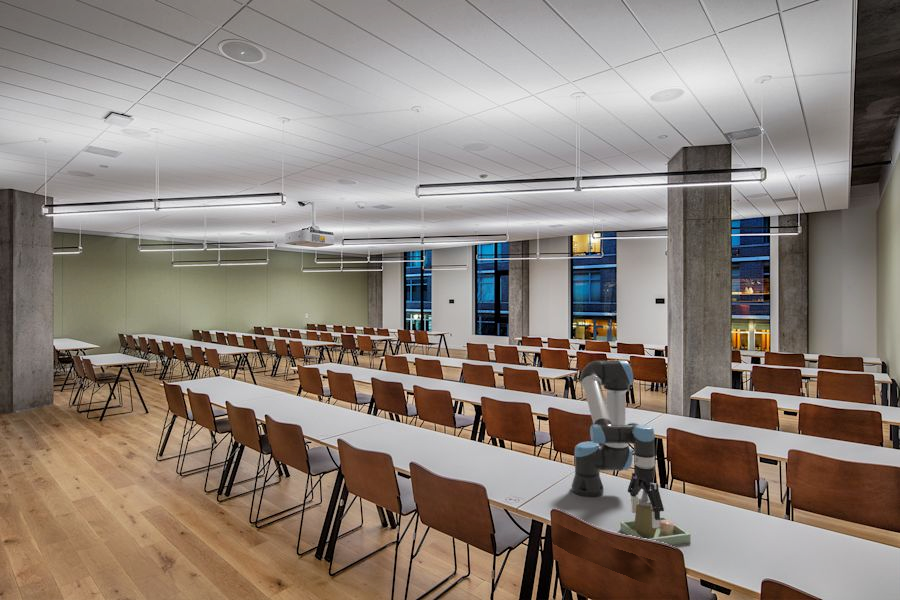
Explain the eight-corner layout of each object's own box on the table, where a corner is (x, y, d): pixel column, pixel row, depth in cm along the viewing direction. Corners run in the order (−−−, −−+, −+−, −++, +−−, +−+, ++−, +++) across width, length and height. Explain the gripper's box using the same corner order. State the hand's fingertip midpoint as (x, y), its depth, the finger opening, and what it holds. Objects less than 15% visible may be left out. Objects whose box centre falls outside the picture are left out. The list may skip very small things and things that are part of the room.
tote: (620, 530, 201) (620, 521, 201) (664, 524, 205) (663, 516, 205) (644, 549, 185) (643, 540, 185) (690, 543, 189) (690, 534, 189)
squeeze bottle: (643, 542, 189) (642, 496, 189) (630, 533, 197) (629, 488, 197) (661, 539, 191) (660, 493, 191) (647, 530, 199) (646, 486, 199)
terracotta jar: (657, 531, 198) (657, 520, 198) (668, 530, 199) (668, 519, 199) (664, 537, 193) (664, 525, 193) (676, 536, 194) (676, 524, 194)
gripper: (618, 456, 205) (619, 507, 205) (655, 477, 181) (656, 535, 181) (634, 455, 207) (635, 505, 207) (673, 475, 183) (674, 532, 183)
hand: (645, 519), depth 194 cm, fingers open, 13 cm apart
